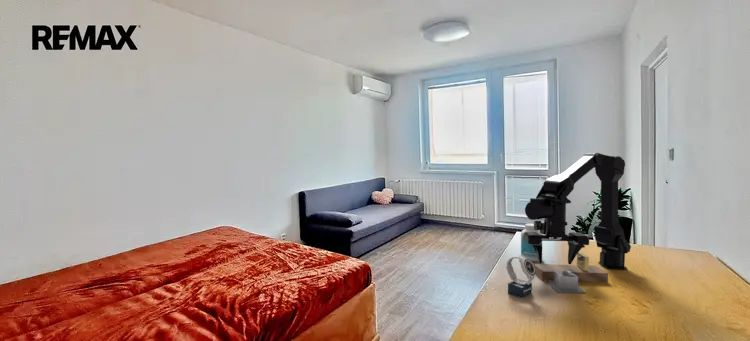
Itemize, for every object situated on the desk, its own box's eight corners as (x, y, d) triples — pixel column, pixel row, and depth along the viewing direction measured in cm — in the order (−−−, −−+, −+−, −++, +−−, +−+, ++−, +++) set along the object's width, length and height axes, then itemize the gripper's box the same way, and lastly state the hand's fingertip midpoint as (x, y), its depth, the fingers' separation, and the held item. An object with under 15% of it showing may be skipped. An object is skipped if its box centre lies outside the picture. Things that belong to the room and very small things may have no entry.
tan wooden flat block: (580, 265, 113) (581, 252, 112) (588, 271, 108) (588, 257, 107) (574, 265, 113) (574, 252, 113) (581, 270, 108) (582, 256, 108)
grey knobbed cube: (569, 283, 105) (570, 269, 105) (577, 290, 100) (578, 275, 100) (553, 282, 106) (553, 268, 105) (560, 289, 101) (560, 274, 101)
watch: (528, 300, 94) (529, 262, 94) (502, 291, 101) (503, 255, 100) (538, 295, 98) (539, 258, 97) (512, 286, 104) (513, 251, 103)
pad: (572, 282, 107) (572, 281, 106) (585, 293, 99) (585, 292, 99) (546, 281, 107) (546, 280, 107) (557, 292, 99) (557, 291, 99)
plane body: (595, 274, 113) (596, 265, 113) (607, 282, 106) (608, 273, 106) (534, 272, 115) (534, 264, 115) (541, 280, 108) (542, 271, 108)
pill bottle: (545, 262, 126) (546, 226, 125) (525, 262, 126) (526, 226, 125) (536, 256, 133) (537, 222, 132) (517, 256, 133) (518, 222, 132)
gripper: (573, 212, 117) (572, 256, 118) (518, 212, 119) (517, 255, 120) (590, 219, 106) (589, 267, 107) (529, 218, 108) (528, 266, 109)
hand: (554, 263), depth 111 cm, fingers open, 9 cm apart
